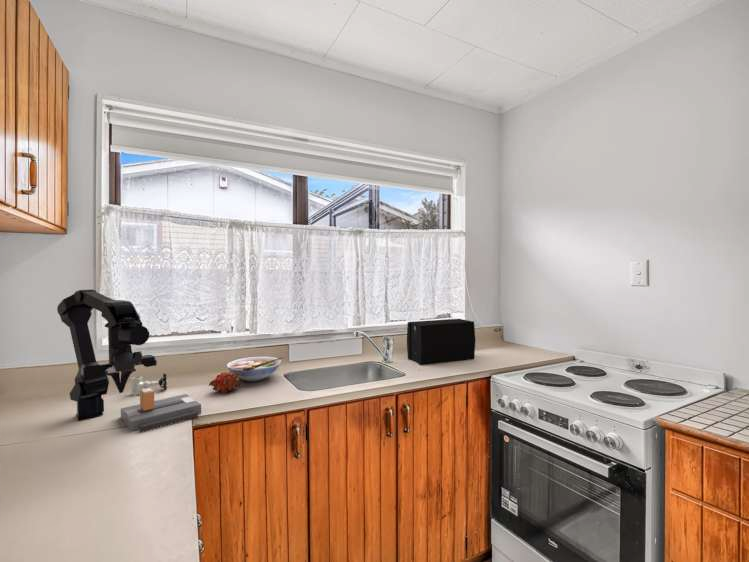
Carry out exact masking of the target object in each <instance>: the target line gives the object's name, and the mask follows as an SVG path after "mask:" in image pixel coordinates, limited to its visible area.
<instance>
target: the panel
mask: <svg viewBox="0 0 749 562" xmlns="http://www.w3.org/2000/svg"><path fill="white" fill-rule="evenodd" d="M194 411H197V412H198V415H200V414H202V404H201V403H200V402H199V401H197V400H196V399H194V398H193V397H192V396H190V395H189V394H187V393H184V394H180V395H176V396H175V395H174V396H171V397H167V398H162V399H158V400H154V409H150V410H145V411H143V410H142V409H141V407H140V404H139V403H138V404H135V405H130V406H126V407H121V408H120V419H121V420H122V421H123V422H124V424H125V425H126V426H127V428H128V430H129V431H130V430H131V431H132V432H135V431H134V430H136V431H140V425H143V424H147V423H151V422H155V421H159V420H163V419H167V418H171V417H175V416H179V415H182V414H186V413H190V412H194ZM199 413H200V414H199Z"/></svg>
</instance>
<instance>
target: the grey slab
mask: <svg viewBox="0 0 749 562" xmlns="http://www.w3.org/2000/svg"><path fill="white" fill-rule="evenodd" d="M195 418H199V414H198V412H197V411H194V412H190V413H186V414H182V415H179V416H175V417H171V418H167V419H163V420H159V421H155V422H151V423H147V424H143V425H140V429H139V431H140V433H144V432H148V431H151V430H150V429H152V430H154V429H153V428H156V429H158V428H157V427H159V428H161V427H160V426H163V427H165V426H164V425H167V426H169V425H168V424H171V423H174V424H176V423H175V422H178V423H180V422H179V421H182V422H184V421H183V420H185V421H189V420H192V419H195ZM171 425H172V424H171ZM147 430H148V431H147ZM143 431H144V432H143Z"/></svg>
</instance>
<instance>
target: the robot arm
mask: <svg viewBox="0 0 749 562" xmlns="http://www.w3.org/2000/svg"><path fill="white" fill-rule="evenodd" d="M56 309H57V314H58V315H59V317H60V321H61V322H63V324H65V326H67V327H68V329H69V330H70V331H69V332H70V335H71V336H70V337H71V341H72V344H73V349H74V354H75V357H76V362H77V367H78V371H77V373H76V376H75V377H74V383H75V384H74V385H73V387H72V389H71V390H70V392H69V398H70V400H71V401H73V402H76V413H75V416H76V418H77V420H78V421H82V420H86V419H92V418H96V417H100V416H103V415H104V412H105V405H104V404H105V403H104V402H105V401H104V398H103V397H102V396H103V395H107V394H108V389H109V384H110V381H109V376H111V378H112V379H113V382H114V384H115V386H116V388H117V390H118V393H119V394H121V393H123V392H124V390H125V387H126V385H127V382H128V380H129V377H130V376H131V374H132V373H134V372H136V371H137V369H136V366H141V365H143V367H146V368H148V367H154V366H156V367H157V363H158V362H157V357H155V356H154V355H152V354H145V355H143V354H142V351H134V352H133V350H132V345H133V346H142V345H144V344H145V343H146V342H148V340H149V339H150V331H149V329H148V328H147V327H146V326H144V325H143V322H142V321H141V320H142V319H141V316H140V315H139V313H138V311H137V309H136V307H135V305H134V304H133V303H132V302H131V301H130V300H123V299H113V298H111V297H108V296H106V295H104V294H103V293H102V294H101V293H99V292H98V291H96V290H95V289H92V288H91V289H79V290H76V291H74V293H73V294H72V295H70V296H68V297H65V298H63V299H62V300H61V301H60V302H59V304H58V305H57V307H56ZM93 310H97V311H99V312H101V314H100V316H101V317H102V318H103V319H105V320H106V321H107V323H105V324H104V328H107V331H108V332H107V333H108V334H107V336H108V338H107V339H108V363H103V364H100V363H99V362H98V361H97V359H96V355H95V349H94V346H93V341H92V337H91V332H90V329H89V324H88V323H89V321H90V319H91V317H92V311H93Z"/></svg>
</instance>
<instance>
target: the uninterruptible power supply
mask: <svg viewBox="0 0 749 562" xmlns="http://www.w3.org/2000/svg"><path fill="white" fill-rule="evenodd" d="M475 327H476V326H475V322H474V321H472V320H467V319H462V318H450V319H448V318H447V319H437V320H435V319H431V320H420V321H419V320H418V321H408V322H407V327H406V328H407V330H406V347H407V348H406V351H407V360H408V361H413V362H415V363H417V364H418V365H419V366H427V365H435V364H444V363H453V362H461V361H470V360H475V352H476V331H475V330H476V329H475Z"/></svg>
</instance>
